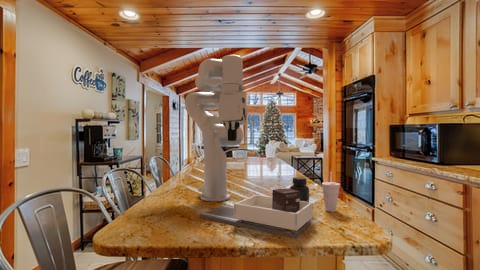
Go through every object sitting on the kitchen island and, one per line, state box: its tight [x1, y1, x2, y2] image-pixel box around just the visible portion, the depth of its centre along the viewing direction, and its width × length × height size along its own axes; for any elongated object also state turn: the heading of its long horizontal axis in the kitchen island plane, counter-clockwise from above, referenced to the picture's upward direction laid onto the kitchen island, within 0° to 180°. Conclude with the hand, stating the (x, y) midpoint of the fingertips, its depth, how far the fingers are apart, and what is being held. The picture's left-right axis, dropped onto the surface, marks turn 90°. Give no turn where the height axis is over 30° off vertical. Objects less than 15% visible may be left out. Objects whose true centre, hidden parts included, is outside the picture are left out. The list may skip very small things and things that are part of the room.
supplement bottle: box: [289, 176, 310, 202], centre depth 100 cm, size 7×7×12 cm
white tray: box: [233, 194, 314, 231], centre depth 86 cm, size 20×14×5 cm
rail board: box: [199, 204, 312, 239], centre depth 90 cm, size 33×14×1 cm, turn 58°
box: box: [271, 187, 300, 213], centre depth 85 cm, size 6×6×7 cm
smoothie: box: [321, 171, 341, 212], centre depth 102 cm, size 6×6×14 cm
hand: (232, 140), depth 103 cm, fingers closed
